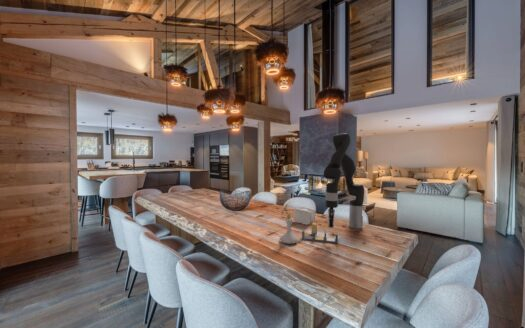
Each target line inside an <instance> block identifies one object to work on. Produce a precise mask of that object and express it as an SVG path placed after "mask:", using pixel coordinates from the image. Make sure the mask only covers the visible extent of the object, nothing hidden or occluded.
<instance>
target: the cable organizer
mask: <svg viewBox="0 0 525 328" xmlns="http://www.w3.org/2000/svg"><path fill="white" fill-rule="evenodd" d="M315 221H316V210H315V208H311V207H306V206H300V207H299V208H297V207H296V208H294V209H293V222H295V223H297V224H302V225H304V224H305V226H307V225H310V224H312V223H315Z"/></svg>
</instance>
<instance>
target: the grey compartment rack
mask: <svg viewBox="0 0 525 328" xmlns="http://www.w3.org/2000/svg"><path fill="white" fill-rule="evenodd" d="M305 230H306V229H305V228H303V229H302V232H301V233H302V234H301V240H302V241H307V242H308V241H311V242H318V243H319V242H320V243H328V244H337V245H338V243H339V241H338V240H339V239H338V237H339V234H338V231H335V237H334V238H333V237H327V230H324V236H316V235H315V230H314V231H313V234H312V235H305Z"/></svg>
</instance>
